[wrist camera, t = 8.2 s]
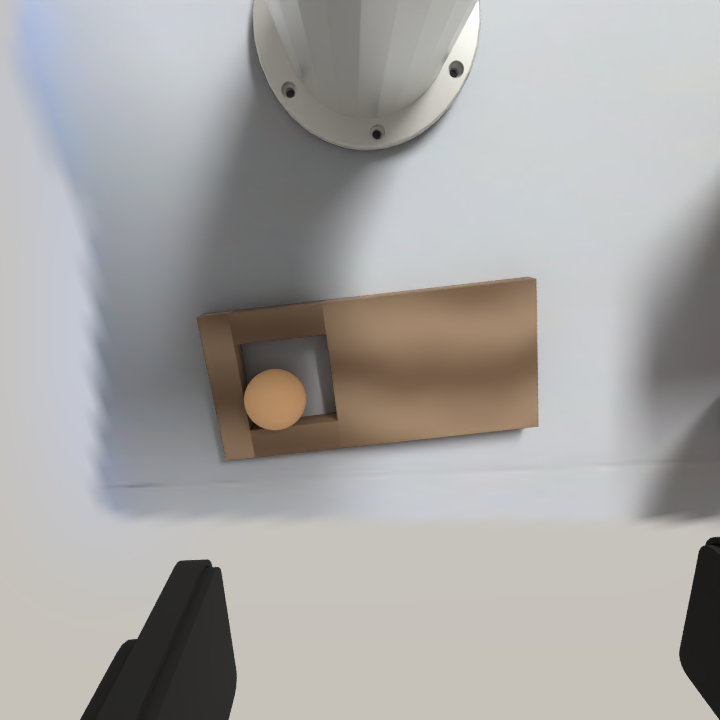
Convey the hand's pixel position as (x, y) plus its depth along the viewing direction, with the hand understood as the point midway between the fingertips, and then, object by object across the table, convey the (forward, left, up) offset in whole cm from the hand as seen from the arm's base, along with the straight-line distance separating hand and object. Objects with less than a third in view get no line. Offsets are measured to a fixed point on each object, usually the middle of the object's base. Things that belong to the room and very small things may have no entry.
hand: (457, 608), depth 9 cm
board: (+2, -1, -23) cm, 23 cm away
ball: (+3, -8, -21) cm, 23 cm away
